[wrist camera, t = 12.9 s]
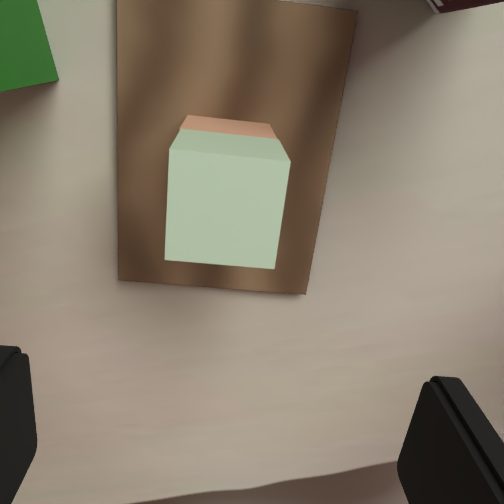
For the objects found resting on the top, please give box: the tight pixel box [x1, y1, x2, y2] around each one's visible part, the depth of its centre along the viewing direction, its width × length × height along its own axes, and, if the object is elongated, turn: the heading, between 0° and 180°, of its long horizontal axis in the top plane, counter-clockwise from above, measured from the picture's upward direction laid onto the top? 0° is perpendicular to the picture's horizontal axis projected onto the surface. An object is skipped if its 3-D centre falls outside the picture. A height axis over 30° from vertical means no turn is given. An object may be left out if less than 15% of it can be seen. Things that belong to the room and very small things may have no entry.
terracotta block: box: [179, 115, 277, 139], centre depth 32 cm, size 6×6×6 cm
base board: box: [117, 0, 358, 295], centre depth 35 cm, size 16×22×1 cm
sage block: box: [165, 129, 291, 269], centre depth 26 cm, size 6×6×6 cm
